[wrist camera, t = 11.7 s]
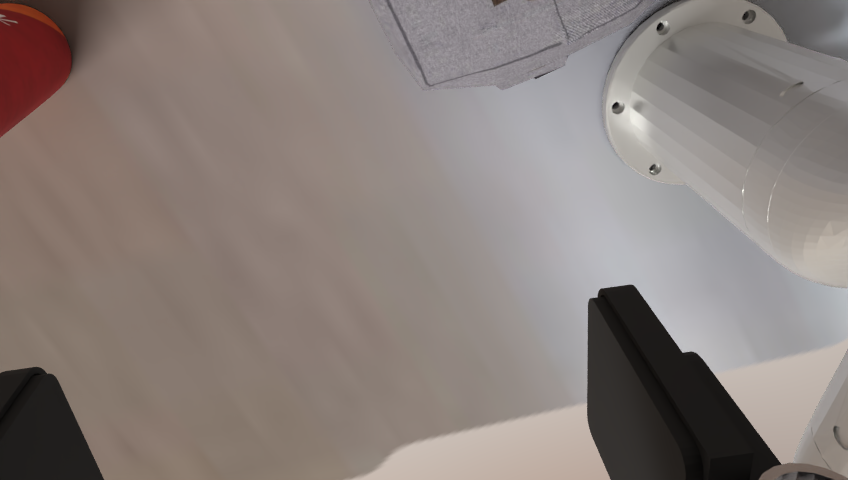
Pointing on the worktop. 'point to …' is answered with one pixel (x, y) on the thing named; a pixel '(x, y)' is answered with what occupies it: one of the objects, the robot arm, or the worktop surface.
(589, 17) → the small grey backpack
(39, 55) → the paper cup
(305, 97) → the worktop surface
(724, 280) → the worktop surface
